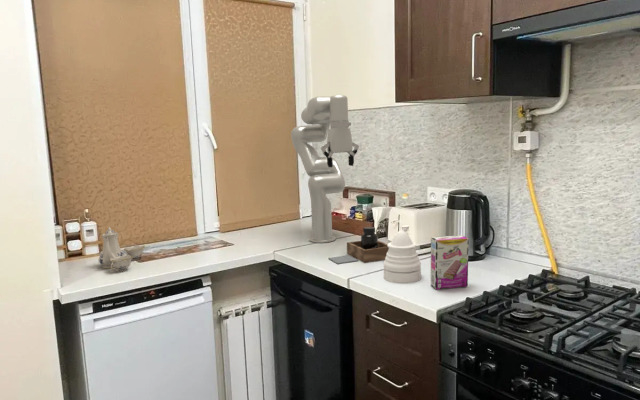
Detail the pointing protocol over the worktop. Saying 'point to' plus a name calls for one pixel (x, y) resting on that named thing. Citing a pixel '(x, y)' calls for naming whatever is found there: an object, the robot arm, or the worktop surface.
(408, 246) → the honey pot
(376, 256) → the open-top box
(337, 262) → the grey mat
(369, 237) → the supplement bottle
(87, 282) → the worktop surface
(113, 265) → the chinaware
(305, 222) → the worktop surface
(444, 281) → the candy bar box
